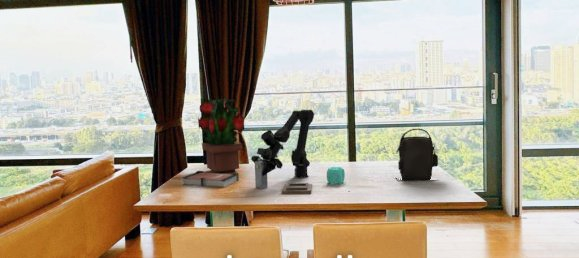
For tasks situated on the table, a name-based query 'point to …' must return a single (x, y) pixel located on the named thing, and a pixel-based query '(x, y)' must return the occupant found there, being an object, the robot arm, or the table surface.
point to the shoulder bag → (416, 157)
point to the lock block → (260, 175)
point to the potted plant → (221, 134)
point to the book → (211, 179)
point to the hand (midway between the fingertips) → (259, 174)
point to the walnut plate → (297, 188)
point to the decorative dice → (335, 175)
